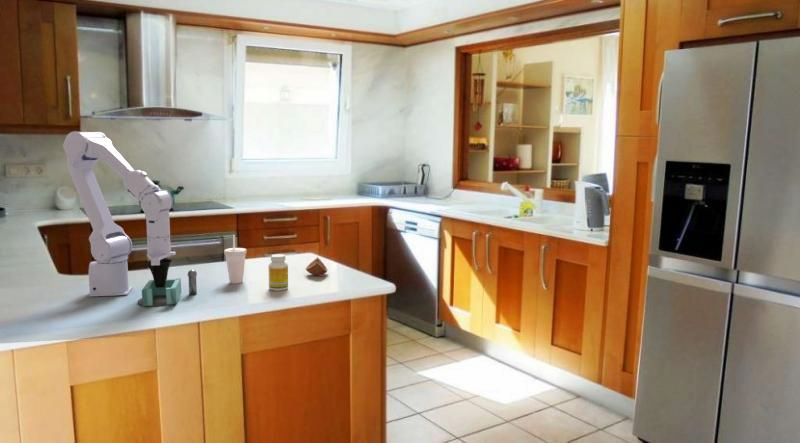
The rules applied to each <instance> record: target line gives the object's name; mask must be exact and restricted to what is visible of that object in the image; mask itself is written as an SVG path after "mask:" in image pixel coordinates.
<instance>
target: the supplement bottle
mask: <svg viewBox="0 0 800 443" xmlns="http://www.w3.org/2000/svg"><path fill="white" fill-rule="evenodd" d="M270 261H271V262H269V264H268V289H269V290H271V291H275V292H276V291H277V292H278V291H279V292H280V291H285V290H287V289H288V288H289V264H288V263H287V262H286V255H285V254H283V253H280V254H279V253H278V254H272V255H270Z"/></svg>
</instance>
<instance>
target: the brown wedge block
mask: <svg viewBox="0 0 800 443" xmlns="http://www.w3.org/2000/svg"><path fill="white" fill-rule="evenodd" d="M305 270H306V272H307V273H309V274H311V275H314V276H322V275H325V274H326V273H327V272H328V268H327V266H326V265H325V264H324V262H322V260H321V258H319V257H316V258H314V259H313V260H312V261H311V262H310V263H309V264H308V265H307V266H306V267H305Z"/></svg>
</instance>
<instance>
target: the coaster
mask: <svg viewBox="0 0 800 443" xmlns="http://www.w3.org/2000/svg"><path fill="white" fill-rule="evenodd" d="M179 300H180V299H178V301H179ZM137 305H139V306H141V307H144V306H143V302H142V297H141V298H139V299H138V300H137ZM168 305H170V304H167V299H166V295H155V296H154V297H153V305H149V306H148V307H163V306H168Z"/></svg>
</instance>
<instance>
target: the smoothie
mask: <svg viewBox="0 0 800 443" xmlns="http://www.w3.org/2000/svg"><path fill="white" fill-rule="evenodd" d="M223 251H224V255H225V260H226V268H227V272H228V279H229V280H228V281H229V283H230V284H241V282H242V283H243V282H244V272H245V263H246V255H247V248H244V247H236V235H235V234H232V247H230V248H226V249H224V250H223Z"/></svg>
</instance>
